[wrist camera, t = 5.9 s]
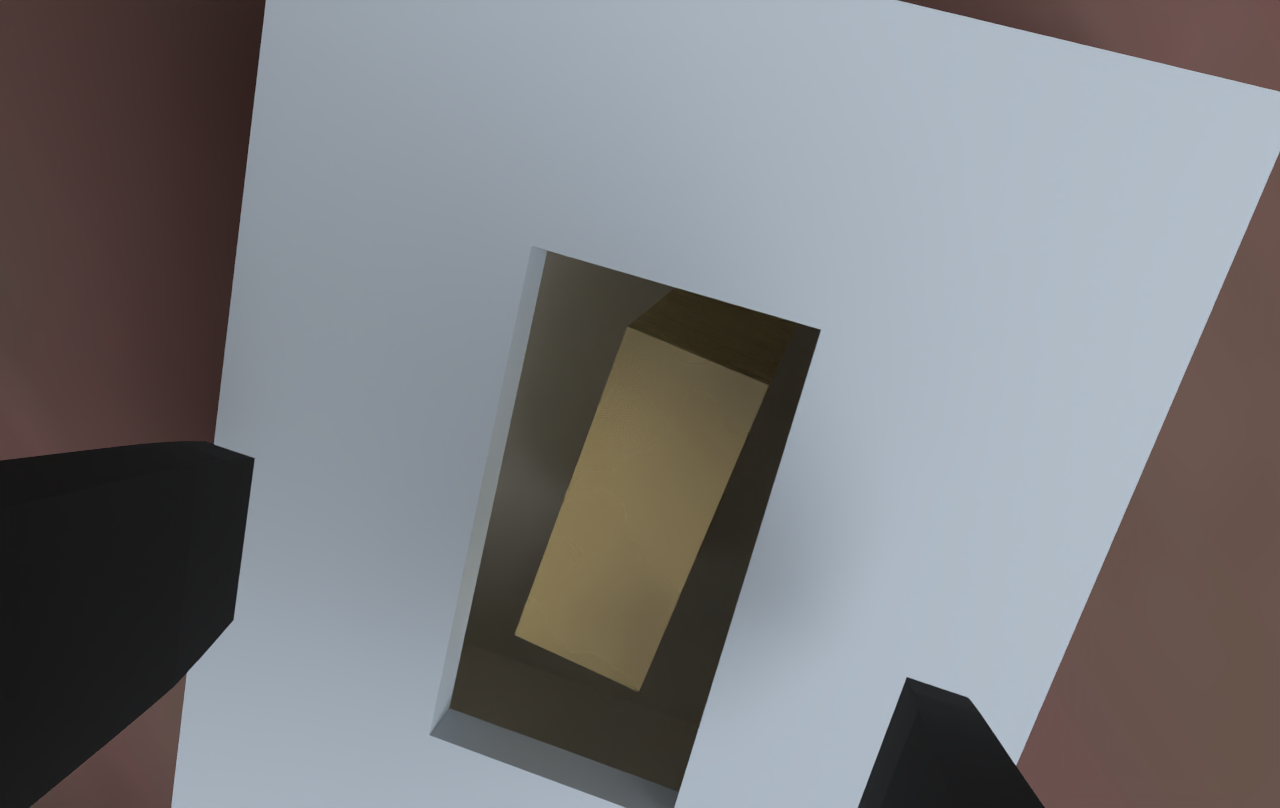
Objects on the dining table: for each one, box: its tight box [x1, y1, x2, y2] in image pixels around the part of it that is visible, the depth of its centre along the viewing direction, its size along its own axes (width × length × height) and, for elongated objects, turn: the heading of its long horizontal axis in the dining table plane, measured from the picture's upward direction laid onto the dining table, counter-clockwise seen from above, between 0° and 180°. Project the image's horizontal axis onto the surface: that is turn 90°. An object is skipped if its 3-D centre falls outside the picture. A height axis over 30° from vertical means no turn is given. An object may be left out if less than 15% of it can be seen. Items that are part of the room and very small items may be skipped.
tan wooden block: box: [515, 288, 797, 692], centre depth 17 cm, size 5×2×5 cm, turn 160°
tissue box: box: [171, 0, 1280, 808], centre depth 16 cm, size 14×11×7 cm
